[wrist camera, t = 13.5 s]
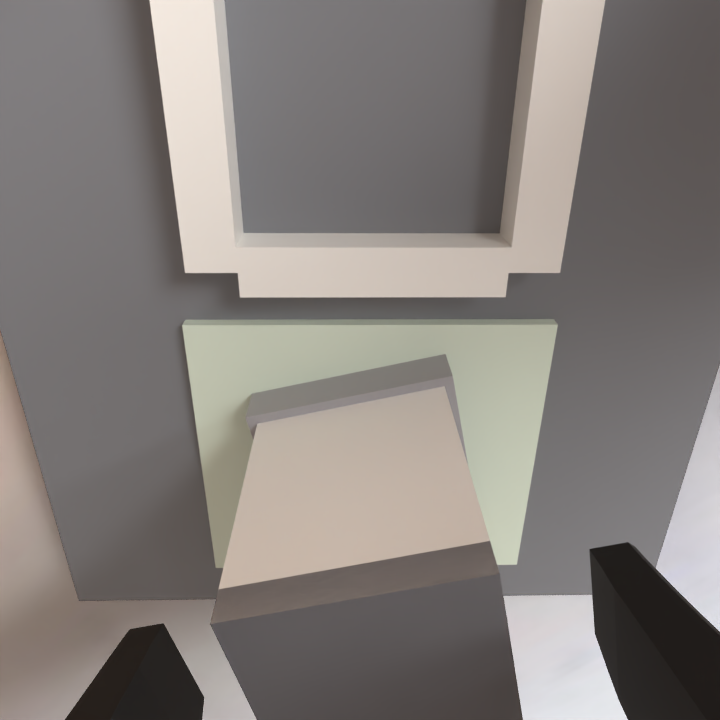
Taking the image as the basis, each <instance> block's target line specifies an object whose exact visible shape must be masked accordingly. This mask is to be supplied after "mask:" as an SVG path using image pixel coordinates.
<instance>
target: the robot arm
mask: <svg viewBox="0 0 720 720" xmlns="http://www.w3.org/2000/svg"><path fill="white" fill-rule="evenodd" d="M589 552H590V566H591V581H592V596H593V611H594V626H595V635H596V638H597V641H598V643H599V646H600V649H601V652H602V655H603V658H604V660H605V663H606V666H607V669H608V672H609V674H610V677H611V680H612V683H613V685H614V688H615V691H616V693H617V696H618V699H619V701H620V703H621V706H622V708H623V710H624V712H625V714H626V716H627V718H628V720H720V632H719V631H718V630H717V629H716V628H715V627H714V626H713V625H712V624H711V623H710V622H709V621H708V620H707V619H706V618H705V617H703V616H702V615H701V614H700V613H699V612H698V611H697V610H696V609H695V608H694V607H693V606H692V605H691V604H690V603H689V602H688V601H687V600H686V599H685V598H684V597H683V596H682V595H681V594H680V593H679V592H678V591H677V590H676V589H675V588H674V587H673V586H672V585H671V584H670V583H669V582H668V581H667V580H666V579H665V578H664V577H663V576H662V575H661V574H660V573H659V572H658V571H657V570H656V568H655V567H654V566H653V565H652V564H651V563H650V562H649V561H648V560H647V559H646V558H645V557H644V556H643V555H642V554H641V552H640V551H639V550H638V549H637V548H636V547H635V546H633V545H632V544H630V543H629V542H626V543H620V544H615V545H609V546H603V547H597V548H592V549H589ZM203 704H204V696H203V694H202V693H201V691H200V689H199V687H198V685H197V683H196V682H195V680H194V678H193V676H192V674H191V673H190V671H189V669H188V667H187V665H186V664H185V662H184V660H183V658H182V656H181V654H180V653H179V651H178V649H177V647H176V645H175V644H174V642H173V640H172V638H171V636H170V634H169V633H168V631H167V629H166V627H165V625H164V624H157V625H152V626H146V627H140V628H134V629H130V630H129V631H128V633H127V634H126V635H125V637H124V638H123V639H122V641H121V642H120V643H119V645H118V646H117V648H116V649H115V650H114V652H113V653H112V654H111V656H110V657H109V659H108V660H107V661H106V663H105V664H104V666H103V667H102V669H101V670H100V671H99V673H98V674H97V676H96V677H95V678H94V680H93V681H92V683H91V684H90V685H89V687H88V688H87V690H86V691H85V692H84V694H83V695H82V697H81V698H80V699H79V701H78V702H77V704H76V705H75V706H74V708H73V709H72V711H71V712H70V713H69V715H68V716H67V718H66V719H65V720H202V714H203Z"/></svg>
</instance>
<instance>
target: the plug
mask: <svg viewBox="0 0 720 720" xmlns="http://www.w3.org/2000/svg"><path fill="white" fill-rule="evenodd" d="M245 418H246V421H247V424H248V426H249V429H250V432H251V435H252V437H253V444H252V448H251V453H250V457H249V461H248V465H247V470H246V474H245V478H244V482H243V487H242V491H241V495H240V499H239V504H238V508H237V512H236V516H235V521H234V525H233V529H232V533H231V538H230V542H229V546H228V551H227V555H226V559H225V563H224V568H223V572H222V576H221V580H220V585H219V589H218V593H217V597H216V602H215V606H214V610H213V614H212V619H211V623H210V625H211V627H212V629H213V631H214V633H215V635H216V637H217V639H218V641H219V643H220V645H221V647H222V649H223V651H224V653H225V655H226V657H227V659H228V661H229V664H230V666H231V668H232V670H233V672H234V674H235V676H236V678H237V680H238V682H239V684H240V686H241V688H242V690H243V692H244V694H245V696H246V698H247V700H248V702H249V704H250V706H251V709H252V711H253V713H254V715H255V717H256V719H257V720H523V718H522V712H521V705H520V699H519V693H518V686H517V680H516V674H515V667H514V661H513V655H512V648H511V642H510V636H509V629H508V623H507V617H506V610H505V604H504V598H503V591H502V585H501V579H500V573H499V570H498V566H497V563H496V559H495V556H494V553H493V549H492V546H491V542H490V539H489V536H488V532H487V529H486V525H485V522H484V519H483V515H482V512H481V508H480V505H479V502H478V498H477V495H476V491H475V488H474V485H473V481H472V478H471V474H470V471H469V468H468V462H467V456H466V450H465V445H464V439H463V433H462V427H461V421H460V415H459V410H458V404H457V398H456V392H455V386H454V380H453V375H452V372H451V369H450V366H449V363H448V360H447V357H446V354H443V355H438V356H433V357H428V358H423V359H418V360H413V361H409V362H404V363H399V364H394V365H389V366H384V367H379V368H374V369H370V370H365V371H360V372H355V373H350V374H345V375H340V376H335V377H330V378H326V379H321V380H316V381H311V382H306V383H301V384H296V385H291V386H287V387H282V388H277V389H272V390H267V391H262V392H257V393H252V395H251V399H250V402H249V406H248V410H247V413H246V417H245Z"/></svg>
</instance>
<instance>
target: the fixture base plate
mask: <svg viewBox="0 0 720 720" xmlns="http://www.w3.org/2000/svg"><path fill="white" fill-rule="evenodd" d="M0 330H1V334H2V337H3V341H4V344H5V348H6V351H7V355H8V358H9V361H10V365H11V368H12V372H13V375H14V379H15V382H16V386H17V389H18V392H19V396H20V399H21V403H22V406H23V410H24V413H25V417H26V420H27V424H28V427H29V430H30V434H31V437H32V441H33V444H34V448H35V451H36V455H37V458H38V461H39V465H40V468H41V472H42V475H43V479H44V482H45V486H46V489H47V493H48V496H49V499H50V503H51V506H52V510H53V513H54V517H55V520H56V524H57V527H58V530H59V534H60V537H61V541H62V544H63V548H64V551H65V555H66V558H67V562H68V565H69V568H70V572H71V575H72V579H73V582H74V586H75V589H76V593H77V596H78V600H79V601H106V600H188V599H216V597H217V593H218V589H219V585H220V580H221V576H222V572H223V568H224V563H225V559H226V555H227V551H228V546H229V542H230V538H231V533H232V529H233V525H234V521H235V516H236V512H237V508H238V504H239V499H240V495H241V491H242V487H243V482H244V478H245V474H246V470H247V465H248V461H249V457H250V453H251V448H252V444H253V437H252V435H251V432H250V429H249V426H248V424H247V421H246V418H245V417H246V413H247V410H248V406H249V402H250V399H251V395H252V393H257V392H262V391H267V390H272V389H277V388H282V387H287V386H291V385H296V384H301V383H306V382H311V381H316V380H321V379H326V378H330V377H335V376H340V375H345V374H350V373H355V372H360V371H365V370H370V369H374V368H379V367H384V366H389V365H394V364H399V363H404V362H409V361H413V360H418V359H423V358H428V357H433V356H438V355H443V354H446V357H447V360H448V363H449V366H450V369H451V372H452V375H453V380H454V386H455V392H456V398H457V404H458V410H459V415H460V421H461V427H462V433H463V439H464V445H465V450H466V456H467V462H468V468H469V471H470V474H471V478H472V481H473V485H474V488H475V491H476V495H477V498H478V502H479V505H480V508H481V512H482V515H483V519H484V522H485V525H486V529H487V532H488V536H489V539H490V542H491V546H492V549H493V553H494V556H495V559H496V563H497V566H498V570H499V573H500V579H501V585H502V591H503V596H517V595H592V581H591V566H590V552H589V549H592V548H597V547H603V546H609V545H615V544H620V543H626V542H629V543H630V544H632V545H633V546H635V547H636V548H637V549H638V550H639V551H640V552H641V554H642V555H643V556H644V557H645V558H646V559H647V560H648V561H649V562H650V563H651V564H652V565H653V566H654V567H655V568H656V565H657V561H658V558H659V555H660V552H661V549H662V546H663V542H664V539H665V536H666V533H667V530H668V527H669V523H670V520H671V517H672V514H673V511H674V507H675V504H676V501H677V498H678V495H679V492H680V488H681V485H682V482H683V479H684V476H685V473H686V469H687V466H688V463H689V460H690V457H691V454H692V450H693V447H694V444H695V441H696V438H697V434H698V431H699V428H700V425H701V422H702V419H703V415H704V412H705V409H706V406H707V403H708V400H709V396H710V393H711V390H712V387H713V384H714V380H715V377H716V374H717V371H718V368H719V365H720V0H0Z"/></svg>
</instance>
